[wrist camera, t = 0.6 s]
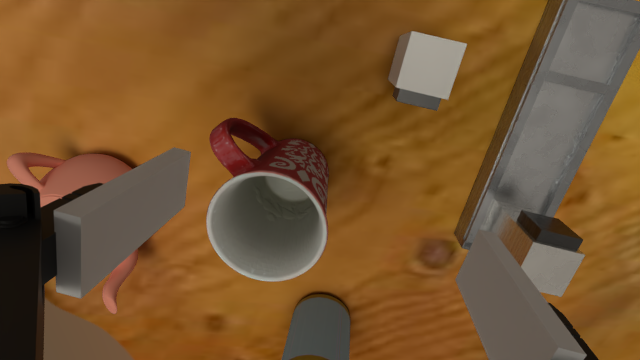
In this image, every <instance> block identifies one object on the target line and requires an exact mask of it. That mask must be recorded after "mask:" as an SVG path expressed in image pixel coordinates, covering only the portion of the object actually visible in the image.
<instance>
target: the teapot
mask: <svg viewBox="0 0 640 360" xmlns="http://www.w3.org/2000/svg"><path fill="white" fill-rule="evenodd" d="M7 165H8V168H9V170H10V171H11V173H12V174H13V175H14V176H15V177H16V178H17V180H18V181H19V182H20V183H21V184H24V185H29V186H33V187H35V188H36V189H38V190H39V192H40V205H41V207H43V206H45V205H47V204H49V203H51V202H53V201H55V200H57V199H59V198H61V199H62V197H63V196H65V195H67V194H69V193H72V192H73V191H75V190H77V189H79V188H81V187H83V186H87V185H91V184H96V183H103V184H105V183H107V182H109V181H111V180H113V179H115V178H117V177H118V176H120V175H122V174H124V173H126V172H128V171H130V170H132V168H131V167H129V166H128V165H127V164H125V163H124V162H122V161H120V160H118V159H116V158H114V157H111V156H108V155H104V154H83V155H79V156H76V157H73V158H70V159H68V160H62V159H58V158H54V157H50V156H46V155H41V154H36V153H17V154H13V155H12V156H10V157H9V158H8V160H7ZM33 166H43V167H52V168H53V169H52V170H51V171H49V172H48V173H47V174H46V175H45V176H44V177H43V178H42V179H41V180H40V181H39V180H38V179H37V178H36V177H35V176H34V175H33V174H32V173H31V172H30V170H29V168H28V167H33ZM137 260H138V249H136V250H135V251H134V252H133V253H132V254H131V255H130V256H128V257H127V258H126V259H125V260H124V261H123V262H122V263H121V264H119V265H118V266H117V267H116V268H115V269H114V270H113V271H112V272H111V275H110V277H109V279H108V280H107V282H106V283H105V285H104V288H103V294H102V296H103V301H104V303H105V305H106V307H107V308H108V310H109V311H110V312H111V313H113V314H116V312H117V304H116V296H117V292H118V289H119V287H120V286H121V284H122V283H123V282H124V280H125V279H126V278H127V277H128V275H129V274H130V273H131V272H132V270H133V269H134V267H135V265H136V263H137Z"/></svg>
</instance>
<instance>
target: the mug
mask: <svg viewBox="0 0 640 360" xmlns="http://www.w3.org/2000/svg"><path fill="white" fill-rule="evenodd" d="M231 135H234V136H236V137H238V138H241V139H243V140H244V141H246V142H248V143H250V144H252V145H253V146H255V147H256V148H258V149H259V150H260V152H261V156H260V157H259V158H258V159H251V158H249V157H248V156H247V155H246V154H244V153H243V152H242V151H241V150H240V148H239V147H238V146H237V145H236V143H235V142H234V140H233V138H232V136H231ZM210 144H211V147H212V150H213V152H214V154H215V156H216V157H217V158H218V160H219V161H220V162H221V163H222V164H223V166H224V167H226V168H227V169H228V170H229V171H230V173H231V174H232V175H233V176H234V177H233V178H232V179H230V180H228V181H227V182H226V183H224V184H223V185H222V186H221V187H220V188H219V189H218V190H217V192H216V193H215V195H214V196H213V198H212V200H211V202H210V205H209V207H208V211H207V218H206V224H207V232H208V236H209V239H210V242H211V244H212V246H213V248H214V250H215V251H216V253H217V254H218V255H219V256H220V258H221V259H222V260H223V261H224V262H225V263H226V264H227V265H229V266H230V267H231V268H232V269H234V270H235V271H237V272H239V273H240V274H242V275H245V276H247V277H250V278H253V279H257V280H261V281H284V280H288V279H292V278H295V277H297V276H299V275H301V274H303V273H305V272H306V271H308V270H309V269H310V268H311V267H313V266H314V265H315V263H316V262H317V261H318V260H319V258H320V257H321V255H322V253H323V251H324V249H325V247H326V243H327V238H328V222H327V218H326V208H327V189H328V177H329V172H328V165H327V162H326V159H325V157H324V155H323V154H322V153H321V151H320V150H319V149H318V148H317V147H315V146H314V145H313V144H311V143H309V142H307V141H305V140H301V139H294V138H291V139H285V140H282V141H279V142H278V141H276V140H275V139H274V138H272V137H271V136H270V135H268V134H267V133H266V132H264V131H263V130H261V129H259V128H258V127H256V126H254V125H253V124H251V123H249V122H247V121H245V120H242V119H238V118H229V119H227V120H225V121H223V122H222V123H220V124H219V125H218V126H217V127H215V128H214V129H213V130H212V132H211V134H210Z"/></svg>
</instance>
